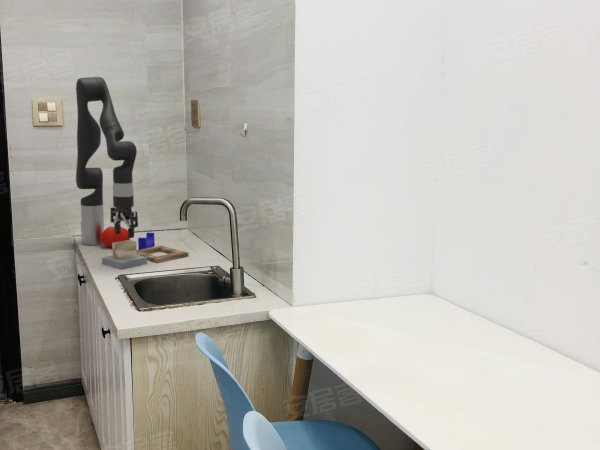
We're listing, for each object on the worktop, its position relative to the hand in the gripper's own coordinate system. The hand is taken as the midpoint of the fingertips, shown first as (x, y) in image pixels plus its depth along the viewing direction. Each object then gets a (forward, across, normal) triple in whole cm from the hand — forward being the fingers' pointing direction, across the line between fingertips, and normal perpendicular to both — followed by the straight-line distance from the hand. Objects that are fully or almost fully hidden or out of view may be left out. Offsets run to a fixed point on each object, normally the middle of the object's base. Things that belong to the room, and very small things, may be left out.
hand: (124, 236), depth 239 cm
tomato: (+12, -27, +14) cm, 32 cm away
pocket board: (+11, -1, +17) cm, 20 cm away
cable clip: (+12, -15, +20) cm, 28 cm away
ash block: (+8, 0, 0) cm, 8 cm away
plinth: (+11, 0, 0) cm, 11 cm away
